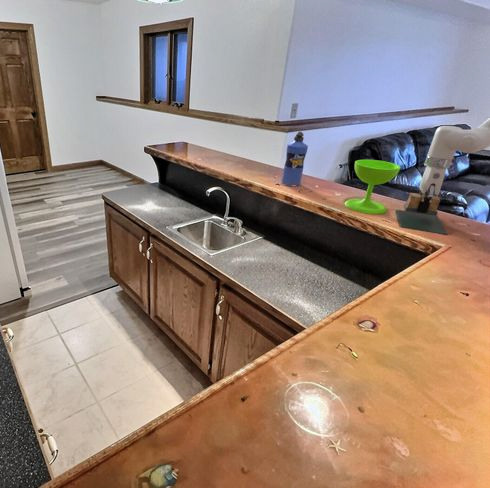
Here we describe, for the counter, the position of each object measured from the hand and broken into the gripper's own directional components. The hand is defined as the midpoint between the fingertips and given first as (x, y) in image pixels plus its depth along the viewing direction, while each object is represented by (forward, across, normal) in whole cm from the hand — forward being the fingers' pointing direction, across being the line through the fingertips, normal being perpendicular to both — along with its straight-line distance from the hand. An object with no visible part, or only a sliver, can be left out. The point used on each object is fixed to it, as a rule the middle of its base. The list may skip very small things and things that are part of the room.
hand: (420, 208), depth 134 cm
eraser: (+1, 0, 0) cm, 1 cm away
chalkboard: (+4, -5, 0) cm, 7 cm away
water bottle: (+5, +25, +51) cm, 57 cm away
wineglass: (+4, +5, +18) cm, 19 cm away
